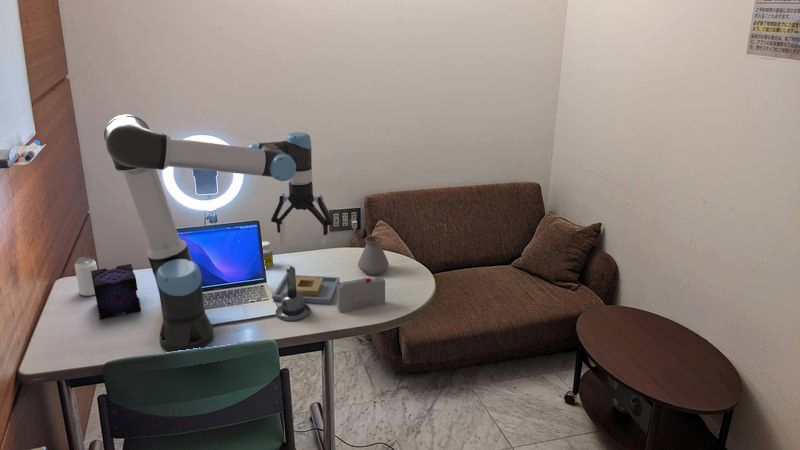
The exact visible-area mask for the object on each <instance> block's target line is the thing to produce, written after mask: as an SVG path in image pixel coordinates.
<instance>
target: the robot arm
mask: <svg viewBox="0 0 800 450" xmlns="http://www.w3.org/2000/svg"><path fill="white" fill-rule="evenodd" d="M103 138H104V141H105V146H106V149H107V153H108V154H109V156H110V157H111V160H112V162H113V165H114V168H115V170H116V171H117V172H119V173H121V174H123V177H124V178H125V181H126V184H127V186H128V190H129V192H130V195H131V197H132V202H133V204H134V207H135V209H136V212H137V215H138V217H139V218H138V219H139V220H140V223H141V226H142V229H143V231H144V234H145V236H146V237H145V238H146V240H147V242H148V246H149V249H148V251H147V254H146V257H147V259H148V261H149V264H150V265H149V266H150V267H151V271H152V274H153V276H154V279H155V283H156V288H157V290H158V294H159V300H160V308H161V313H162V322H161V327H160V331H159V335H158V337H159V344H160V347H161V348H162V349H163V350H165V351H167V352H169V351H178V350H186V349H193V348H199V347H202V348H204V347H206V346H207V345H208V344H210V343H211V342H212V341H213V339H214V337H215V334H214V333H215V332H214V327H213V325H212V323H211V321H210V319H209V317H208V315H207V314H206V309H205V301H204V292H203V282H202V279H203V277H202V273H201V269H200V267H199V265H198V264H197V263H196V262H194V260H193V258H192V257H191V256H192V255H191V252H190V249H189V246H188V243H187V242H186V241H185V240H183V239H181V238H180V236H179V233H178V230H177V227H176V224H175V221H174V218H173V216H172V211H171V208H170V206H169V204H168V199H167V197H166V193H165V191H164V188H163V185H162V182H161V179H160V176H159V173H158V171H159V170H160V171H164V170H165V169H167V168H169V167H170V168H171V167H172V168H178V169H179V168H182V169H189V170H200V171H201V170H202V171H212V172H220V173H231V174H232V173H233V174H241V175H249V176H261V177H268V178H273V179H274V180H277V181H278V182H279V181H280V182H287V181H289V182H288V195H286V194H284V193H281V195H279V200H278V201H279V202H278V204H277V206H276V209H275V210H274V213H273V214H272V217H271V219H270V222H271V223H275V224H276V230H277V233H278V234H280V244H284V243H285V241H286V227H285V221H284V219H286V217H287V216H288V215H289V214H290V213H291V212H292V211H293V209H296V210H297V211H298V210H303V211H306V210H308V211H309V212H310V213H311V214H312V215H313V216H314V217H315V218H316V219H317V220H318V222H319V223H320V224H321V226H320V244H321V246H324V245H325V243H326V236H328V233H329V226H331V225H333V223H334V219H333V217H332V215H331V213H330V211H329V210H328V208H327V206H326V204H325V202H324V196H323V195H319V196H314V193H313V192H314V189H313V182H312V181H313V168H312V141H311V135H309V134H308V133H306V132H303V131H302V132H300V131H299V132H297V131H295V132H290V133H288V134H286V138H285V140H283V141H271V142H258V143H252V144H250V145H248V147H246V146H245V147H244V146H238V145H237V146H236V145H229V144H223V143H221V144H220V143H213V142H206V141H205V142H204V141H197V140H196V141H195V140H191V139H190V140H189V139H182V138H173V137H170V136H169V135H168V133H164V132H159V131H155V130H152V129H151V130H150V127H149V126H148V125H147V123H146V122H145V120H143V118H142V119H141V118H140V117H139V116H138V117H137V116H136V115H133V114H121V115H117V116H115V117H113V118H112V119H110V120H109V122H108V123H107V124H106V126H105V128H104V131H103ZM287 201H288V202H289V203H290V206H288V208H286V210H285V211H284V213H282V214H281V216H280V217H278V216H279V215H280V213H281V210H282V208H283V206H284V204H285V203H287ZM314 202H316V204H318V207H319V209H320V211H321V212H320V211H319V210H318V208H316V206H315V204H314Z"/></svg>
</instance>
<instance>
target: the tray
mask: <svg viewBox="0 0 800 450" xmlns="http://www.w3.org/2000/svg"><path fill="white" fill-rule="evenodd" d="M296 277H315V278H323V280H324V286H323V288H322V290H321V293H320V295H319V297H303V299H304V304H311V305H313V304H314V305H329V306H330V305H332V304H331V303H332V302H333V299H334V296H335V294H336V293H337V284H340V277H339V276H322V275H321V276H319V275H317V276H316V275H303V274H302V275H301V274H296ZM286 292H287V275H286V274H284V276H283V278H282V280H281V281H280V282H279V284H278V285H277V287H276V289H275V290H274V292H273V294H272V295H271V298H272V299H273V300H274V301H275V302H277V303H281V296H282V294H284V293H286ZM272 299H271V300H272ZM274 301H273V302H274Z"/></svg>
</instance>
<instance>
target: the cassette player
mask: <svg viewBox="0 0 800 450" xmlns="http://www.w3.org/2000/svg"><path fill="white" fill-rule="evenodd" d="M340 282H341V281H340ZM336 300H337V301H336V302H337V310H338V312H339V313H340V314H341V313H346V312H352V311H358V310H363V309H369V308H373V307H378V306H384V305H386V280H385V279H384V277H383V276H381V277H375V278H371V277H364V278H358V279H353V280H346V281H342V282H341V283H339V284H337V290H336Z"/></svg>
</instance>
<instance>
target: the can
mask: <svg viewBox="0 0 800 450" xmlns="http://www.w3.org/2000/svg"><path fill="white" fill-rule="evenodd" d="M74 263H75V264H74V270H75V275H76V281H77V286H78V290H79V293H80V295H81V296H83V297H90V296H94V295H95V291H94V286H93V280H92V275H91V271H93V270H98V267H97V262H96V261H95V258H94V257H92V256H83V257H80V258H77V259H76V260H75V262H74Z"/></svg>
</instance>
